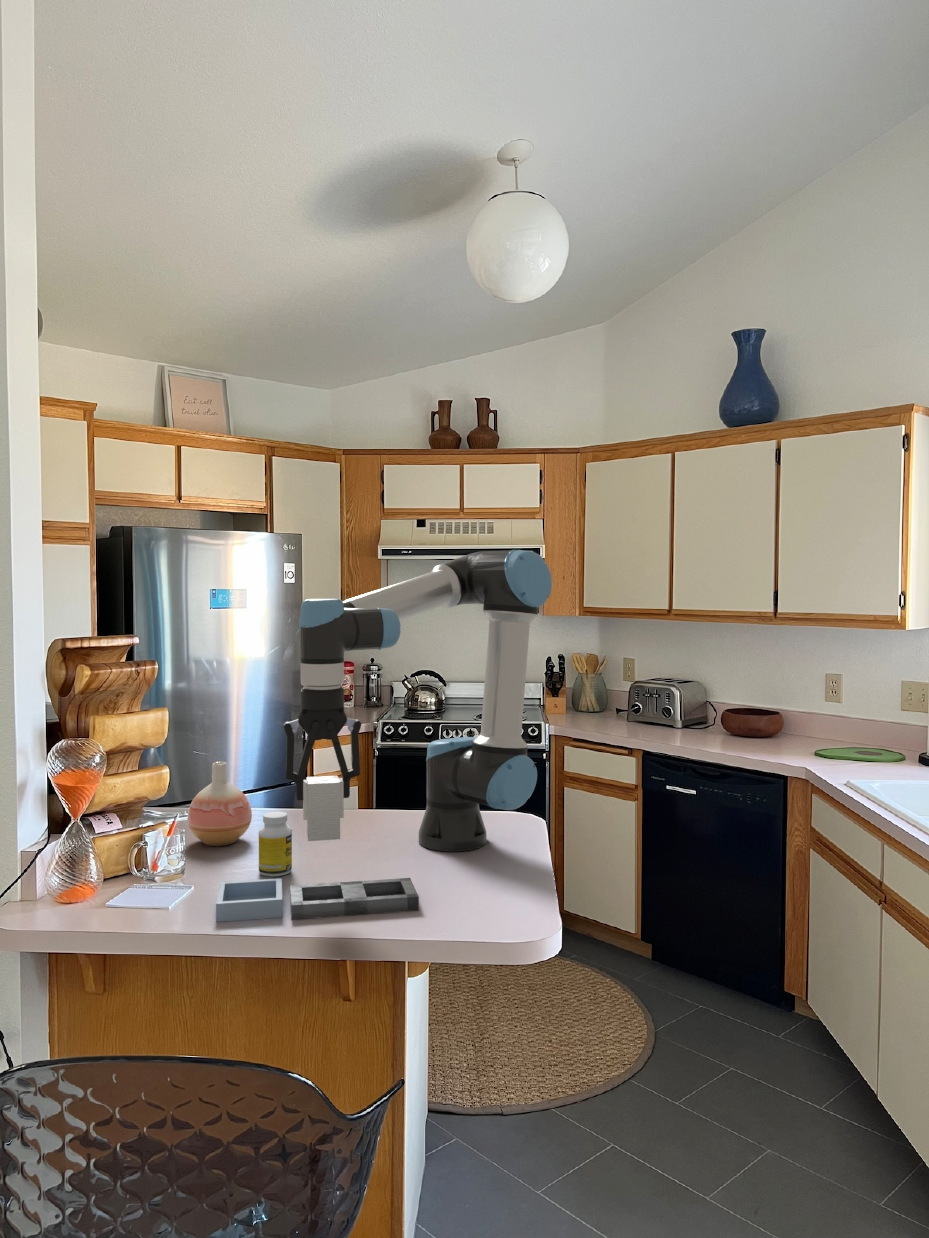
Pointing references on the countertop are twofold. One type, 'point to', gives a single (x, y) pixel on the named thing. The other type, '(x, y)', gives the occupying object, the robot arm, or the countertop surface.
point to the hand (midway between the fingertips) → (323, 816)
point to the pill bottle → (275, 845)
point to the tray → (249, 900)
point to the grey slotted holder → (353, 898)
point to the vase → (219, 811)
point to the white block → (323, 808)
